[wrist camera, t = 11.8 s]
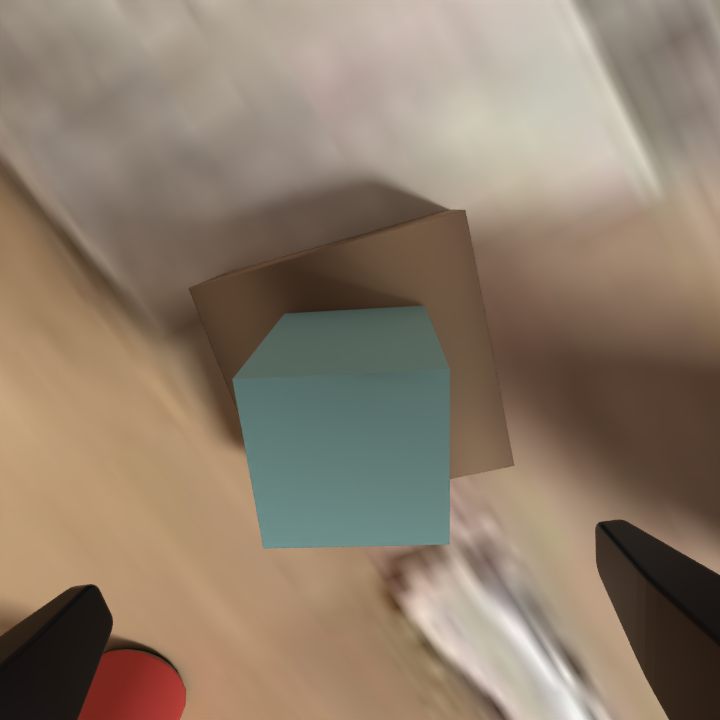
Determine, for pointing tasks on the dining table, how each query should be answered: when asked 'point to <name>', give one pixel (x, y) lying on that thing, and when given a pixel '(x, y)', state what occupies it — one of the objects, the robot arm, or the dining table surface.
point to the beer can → (134, 688)
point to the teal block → (348, 429)
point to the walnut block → (378, 290)
